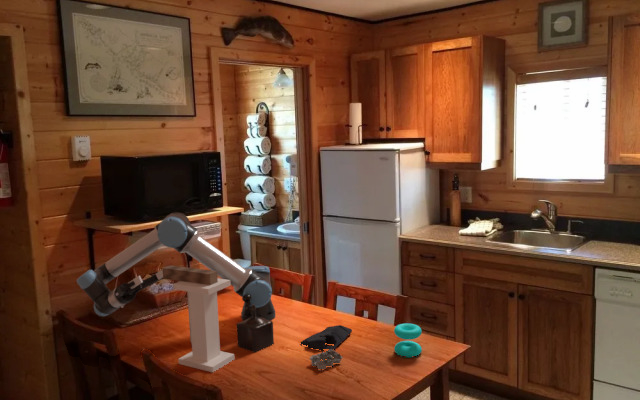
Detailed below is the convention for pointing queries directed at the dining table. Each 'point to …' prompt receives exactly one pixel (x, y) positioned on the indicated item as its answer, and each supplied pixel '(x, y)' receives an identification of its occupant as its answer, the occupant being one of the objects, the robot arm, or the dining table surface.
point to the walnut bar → (190, 275)
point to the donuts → (408, 333)
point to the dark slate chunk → (327, 337)
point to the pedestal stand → (204, 326)
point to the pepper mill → (254, 330)
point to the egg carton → (326, 355)
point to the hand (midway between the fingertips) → (154, 274)
